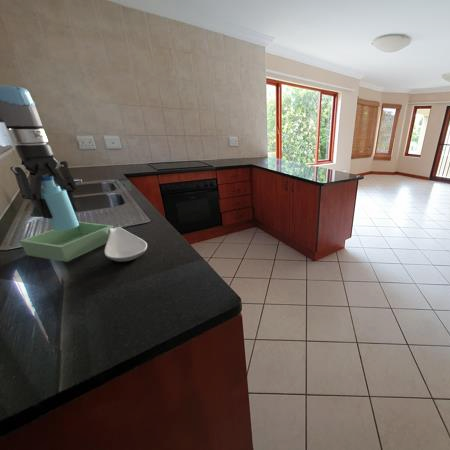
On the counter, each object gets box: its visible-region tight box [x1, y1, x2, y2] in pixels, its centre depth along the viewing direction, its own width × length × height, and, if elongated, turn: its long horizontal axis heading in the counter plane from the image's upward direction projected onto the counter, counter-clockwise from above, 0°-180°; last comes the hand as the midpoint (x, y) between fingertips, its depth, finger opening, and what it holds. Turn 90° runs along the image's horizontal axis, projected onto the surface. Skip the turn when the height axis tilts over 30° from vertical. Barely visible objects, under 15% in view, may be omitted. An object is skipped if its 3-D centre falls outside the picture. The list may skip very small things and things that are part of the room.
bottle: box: [41, 174, 79, 231], centre depth 80 cm, size 7×7×18 cm
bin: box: [19, 221, 114, 263], centre depth 86 cm, size 18×18×6 cm
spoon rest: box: [104, 226, 148, 263], centre depth 83 cm, size 24×12×7 cm, turn 48°
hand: (60, 213), depth 82 cm, fingers closed on bottle, 7 cm apart
